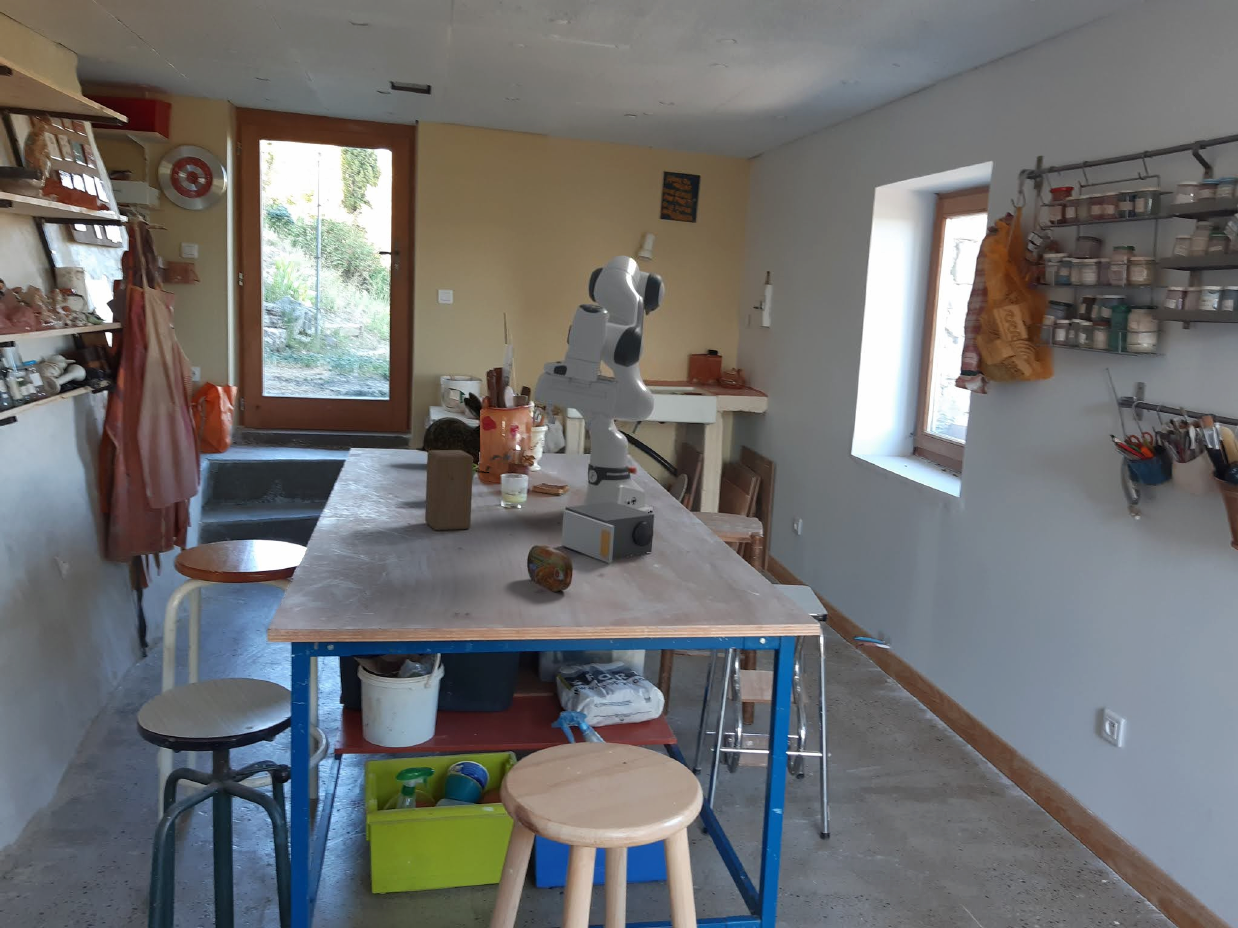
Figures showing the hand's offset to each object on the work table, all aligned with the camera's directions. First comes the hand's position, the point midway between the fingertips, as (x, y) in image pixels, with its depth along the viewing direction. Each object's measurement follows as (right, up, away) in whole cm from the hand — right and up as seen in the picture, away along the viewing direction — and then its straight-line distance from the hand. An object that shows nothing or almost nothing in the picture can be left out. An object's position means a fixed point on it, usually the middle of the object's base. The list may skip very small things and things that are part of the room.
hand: (569, 426), depth 233 cm
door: (+4, -31, +1) cm, 32 cm away
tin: (-3, -36, -25) cm, 44 cm away
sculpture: (-44, -11, +106) cm, 116 cm away
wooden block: (-34, -26, +21) cm, 48 cm away
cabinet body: (+9, -31, +9) cm, 33 cm away
